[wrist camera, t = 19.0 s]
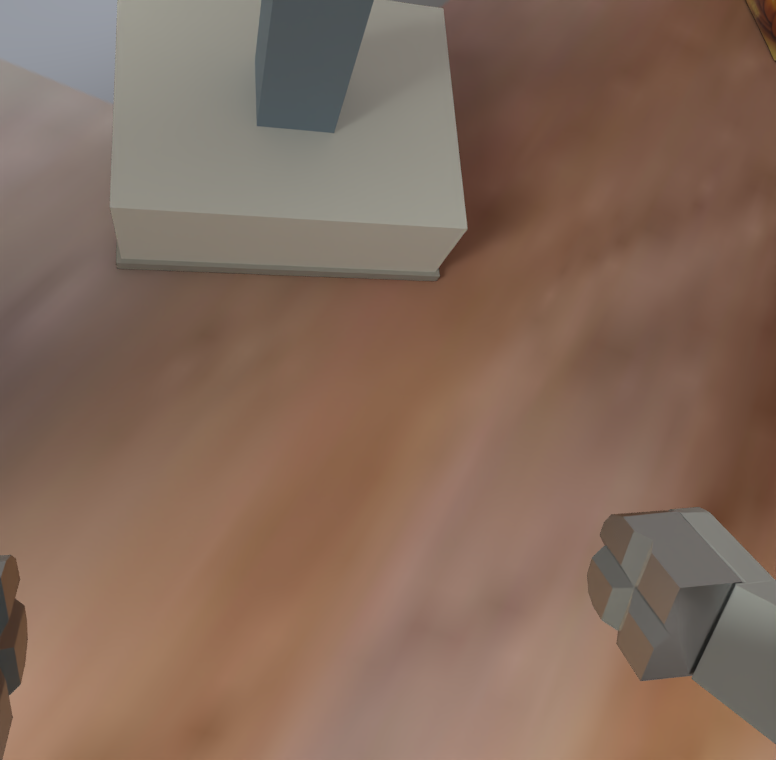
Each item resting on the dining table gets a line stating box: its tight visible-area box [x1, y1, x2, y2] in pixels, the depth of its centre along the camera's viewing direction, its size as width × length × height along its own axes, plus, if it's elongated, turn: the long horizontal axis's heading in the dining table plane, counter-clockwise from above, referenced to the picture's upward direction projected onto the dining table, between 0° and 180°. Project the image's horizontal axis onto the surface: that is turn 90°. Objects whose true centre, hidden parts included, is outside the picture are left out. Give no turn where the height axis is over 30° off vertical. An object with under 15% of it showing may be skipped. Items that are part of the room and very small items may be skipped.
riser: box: [110, 0, 467, 281], centre depth 45 cm, size 21×17×7 cm
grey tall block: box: [255, 0, 374, 133], centre depth 36 cm, size 4×4×12 cm
